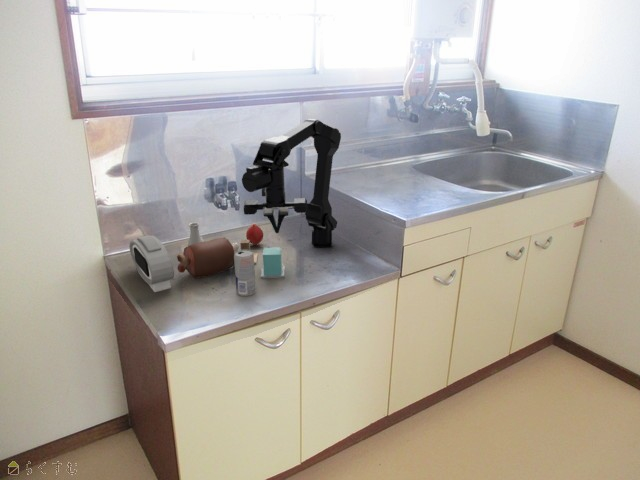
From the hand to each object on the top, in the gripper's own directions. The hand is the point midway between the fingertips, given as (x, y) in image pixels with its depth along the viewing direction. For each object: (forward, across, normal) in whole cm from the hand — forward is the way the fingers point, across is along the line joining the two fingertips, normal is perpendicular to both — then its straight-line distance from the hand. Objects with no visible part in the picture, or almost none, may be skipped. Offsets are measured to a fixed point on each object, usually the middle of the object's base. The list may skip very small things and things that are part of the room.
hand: (277, 232), depth 159 cm
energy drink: (+11, +9, +17) cm, 22 cm away
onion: (+11, +8, -17) cm, 22 cm away
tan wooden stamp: (+11, +11, -5) cm, 16 cm away
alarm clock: (+11, +37, +8) cm, 39 cm away
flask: (+11, +28, -12) cm, 32 cm away
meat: (+11, +21, +4) cm, 24 cm away
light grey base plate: (+11, +2, +6) cm, 12 cm away
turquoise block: (+10, +2, +6) cm, 12 cm away
